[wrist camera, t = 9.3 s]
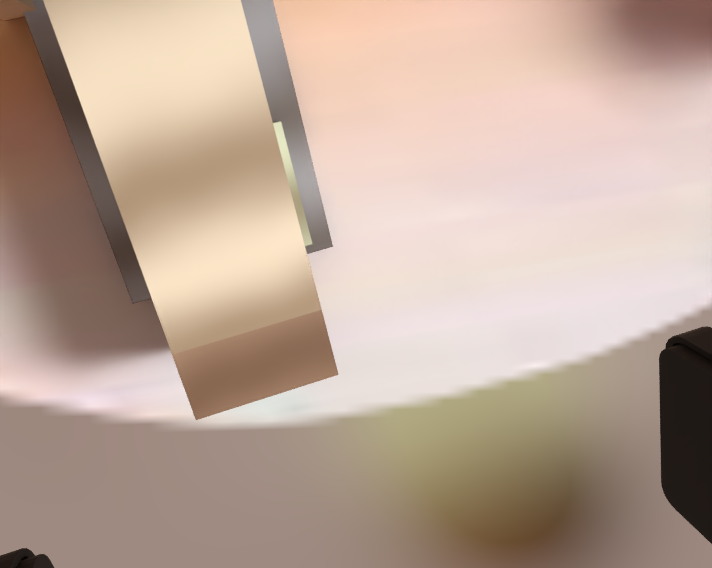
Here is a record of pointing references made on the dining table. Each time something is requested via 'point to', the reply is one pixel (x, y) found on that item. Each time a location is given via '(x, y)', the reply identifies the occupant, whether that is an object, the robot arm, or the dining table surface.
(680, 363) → the robot arm
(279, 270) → the block
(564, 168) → the dining table surface
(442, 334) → the dining table surface
